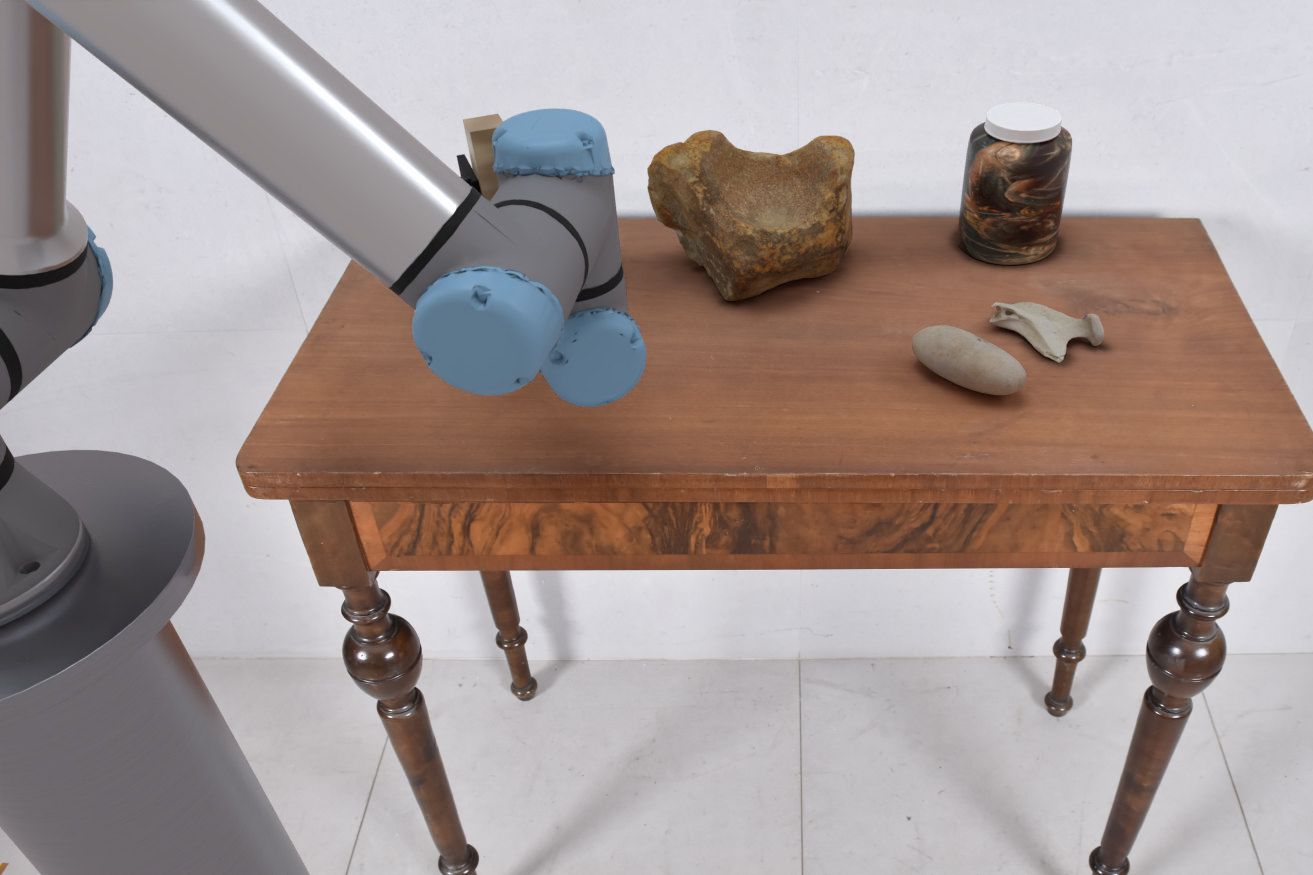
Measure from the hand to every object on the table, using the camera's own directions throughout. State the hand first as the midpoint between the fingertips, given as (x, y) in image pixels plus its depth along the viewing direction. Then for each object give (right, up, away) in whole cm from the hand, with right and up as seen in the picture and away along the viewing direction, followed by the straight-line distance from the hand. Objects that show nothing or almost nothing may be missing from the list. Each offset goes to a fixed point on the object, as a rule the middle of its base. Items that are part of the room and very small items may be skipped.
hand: (483, 165), depth 102 cm
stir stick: (+2, -11, +3) cm, 11 cm away
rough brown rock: (+26, -7, +19) cm, 33 cm away
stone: (+46, -21, +3) cm, 51 cm away
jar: (+55, -1, +25) cm, 61 cm away
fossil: (+56, -15, +9) cm, 59 cm away
